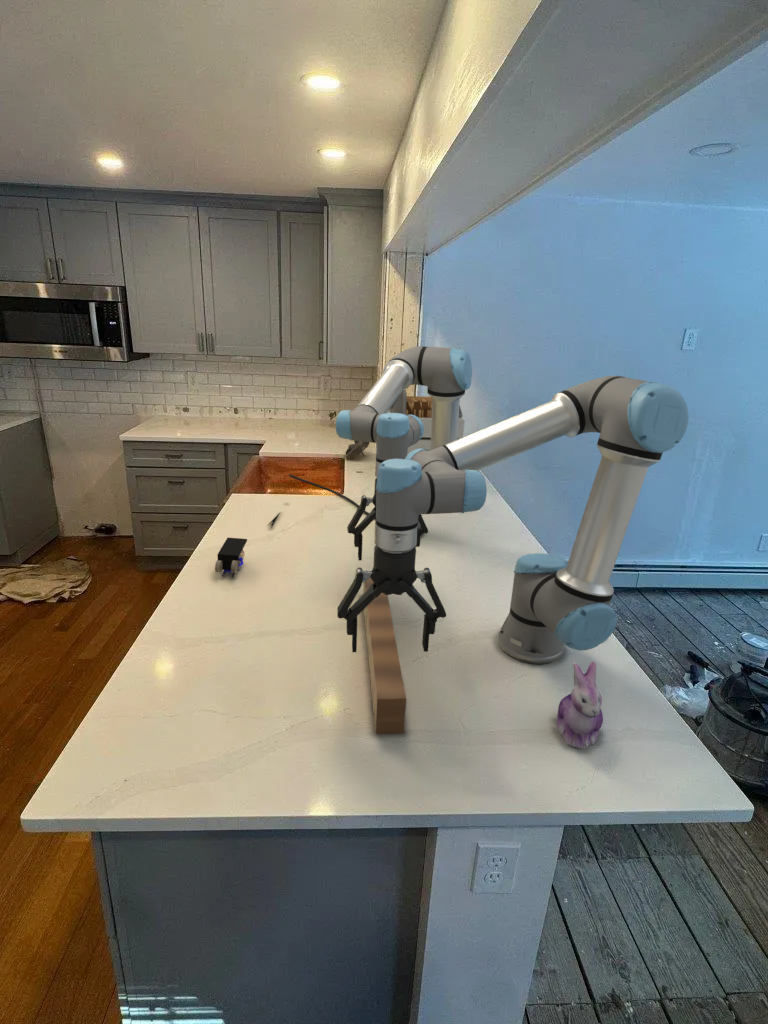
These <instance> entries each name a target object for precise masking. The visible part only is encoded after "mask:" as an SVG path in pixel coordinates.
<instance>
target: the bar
mask: <svg viewBox="0 0 768 1024" xmlns="http://www.w3.org/2000/svg"><path fill="white" fill-rule="evenodd" d="M372 583H373V581H372V580H371V578H368V579H367V581H366V582H365V583H362V595H363V594H364V593H365V592H366V591H367V590H368V589H369V588H370V586H371V585H372ZM388 596H389V595H385V594H384V593H381V594H380V595H379V596H378V597H377V598H375V599H374V600H373V601H372V602H371V603H370V604H369V605H368V606H367V607H366V608H365V609H364V610H363V613H364V614H363V615H364V626H365V636H366V646H367V659H368V667H369V668H368V669H369V678H370V679H369V680H370V690H371V701H372V711H373V721H374V731H375V732H374V734H376V735H381V734H385V735H387V734H405V722H406V721H405V720H406V706H407V705H406V704H407V697H406V690H405V684H404V678H403V674H402V668H401V663H400V657H399V652H398V646H397V645H398V644H397V640H396V635H395V628H394V624H393V617H392V613H391V606H390V602H389V601H390V600H389V597H388Z"/></svg>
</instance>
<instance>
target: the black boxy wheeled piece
mask: <svg viewBox="0 0 768 1024" xmlns="http://www.w3.org/2000/svg"><path fill="white" fill-rule="evenodd" d="M247 542H248V538H240V537H226V539H225V541H224V543H223V544H222V546H221V547H220V549H219V551H218V552H217V560H216V562H215V564H214V572H215V573H221V577H222V578H224V577H225V576H226V574H227V573H230V574H231V573H232V574H231V578H234V577H235V575H236V573H237V572H239V571H240V567H242V566H243V565H244V564H245V562H244V558H245V551H244V547H245V546H246V544H247Z"/></svg>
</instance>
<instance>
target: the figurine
mask: <svg viewBox="0 0 768 1024" xmlns="http://www.w3.org/2000/svg"><path fill="white" fill-rule="evenodd" d="M597 667H598V666H597V662H595V661H591V662H590V663H589V665H588V666H587V669H586V671H585V673H584V671H583V670H582V668H581V666H580V665H579V664H578V663H576V662H574V663H573V664H572V671H573V673H572V674H573V688H572V690H571V692H570V693H569V694H567V695H566V696H564V697H563V698H562V699H560V702H559V704H558V709H557V716H556V727H557V732H558V733H559V734H560V735H561V736H562V738H563V739H564V742H565V743H566V744H567V745H568V746H569V747H574V748H577V749H587V748H588V747H589V746H590V745H595V744H596V743H597V740H598V738H599V735H600V734H599V733H600V730H601V728H602V726H603V724H604V723H603V722H604V717H603V716H604V715H603V712H602V708H601V706H602V704H603V696H602V693H601V691H600V689H599V686H598V685H597V670H598V669H597Z"/></svg>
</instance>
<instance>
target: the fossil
mask: <svg viewBox="0 0 768 1024" xmlns="http://www.w3.org/2000/svg"><path fill="white" fill-rule="evenodd" d="M353 442H354V443H350V444H348V447H347V449H346V451H345V456H344V458H345V460H348V461H351V460H354V459H355V458H357V457H359V456H360V455H361V454H362V456H363V457H365V454H364V453H363V452H364V451H365V450H366V449H367V448H368V447H369V445H370V442H363V441H354V440H353Z"/></svg>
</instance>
